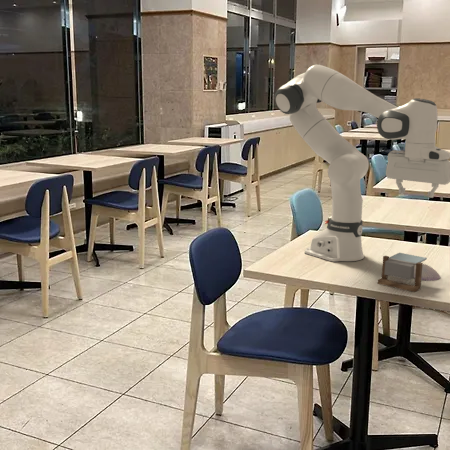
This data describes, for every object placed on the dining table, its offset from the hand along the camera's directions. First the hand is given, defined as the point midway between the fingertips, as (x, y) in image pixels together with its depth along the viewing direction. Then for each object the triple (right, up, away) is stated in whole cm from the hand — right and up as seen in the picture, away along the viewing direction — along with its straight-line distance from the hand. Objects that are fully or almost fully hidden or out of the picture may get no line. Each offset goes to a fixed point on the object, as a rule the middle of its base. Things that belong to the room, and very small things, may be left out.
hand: (415, 195), depth 183 cm
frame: (-5, -29, +2) cm, 30 cm away
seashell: (+7, -27, +12) cm, 31 cm away
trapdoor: (-2, -25, +4) cm, 25 cm away
